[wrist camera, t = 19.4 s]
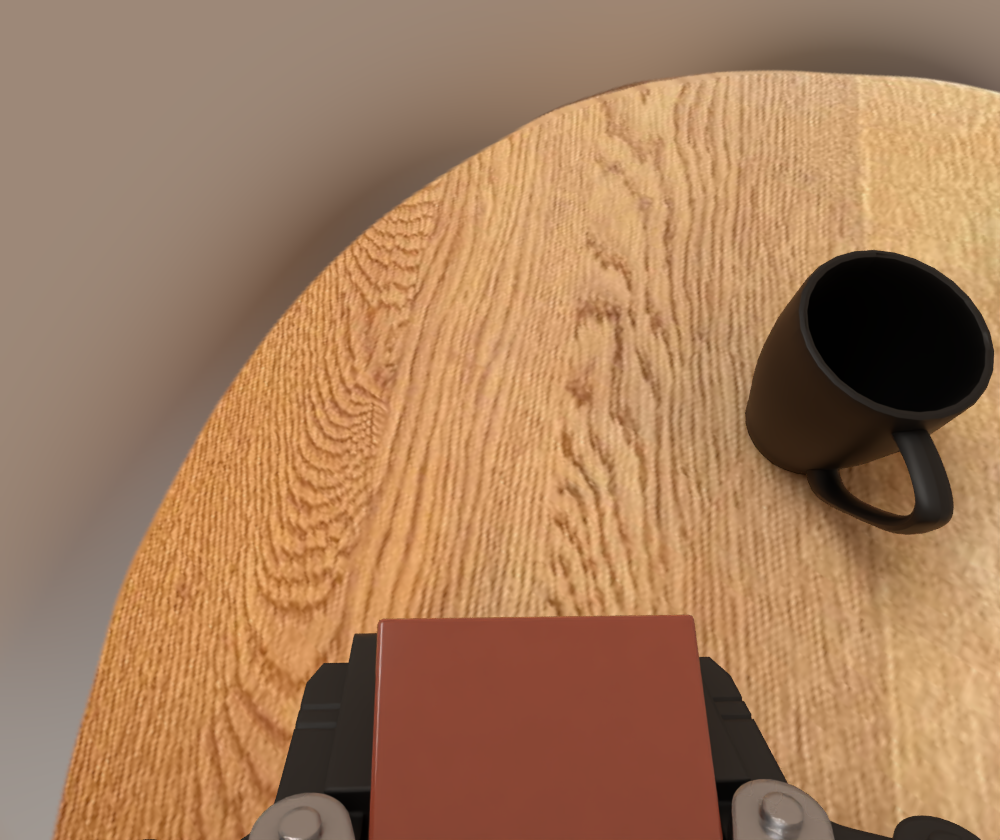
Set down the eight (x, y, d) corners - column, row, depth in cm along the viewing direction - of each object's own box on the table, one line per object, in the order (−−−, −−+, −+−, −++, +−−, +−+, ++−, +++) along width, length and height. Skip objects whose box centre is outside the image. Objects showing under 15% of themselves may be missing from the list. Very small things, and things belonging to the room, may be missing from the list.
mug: (743, 574, 36) (839, 514, 27) (709, 355, 41) (782, 245, 32) (908, 574, 36) (1054, 515, 28) (855, 358, 41) (964, 251, 33)
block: (609, 896, 16) (747, 1002, 9) (400, 905, 15) (360, 1022, 8) (593, 677, 18) (694, 613, 10) (406, 681, 17) (377, 618, 10)
